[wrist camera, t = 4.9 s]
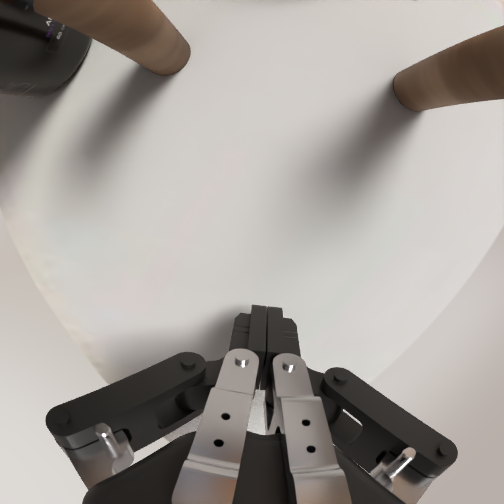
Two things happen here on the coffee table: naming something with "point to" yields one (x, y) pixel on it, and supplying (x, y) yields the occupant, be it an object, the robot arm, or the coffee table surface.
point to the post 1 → (124, 29)
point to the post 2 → (455, 74)
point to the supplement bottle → (36, 50)
